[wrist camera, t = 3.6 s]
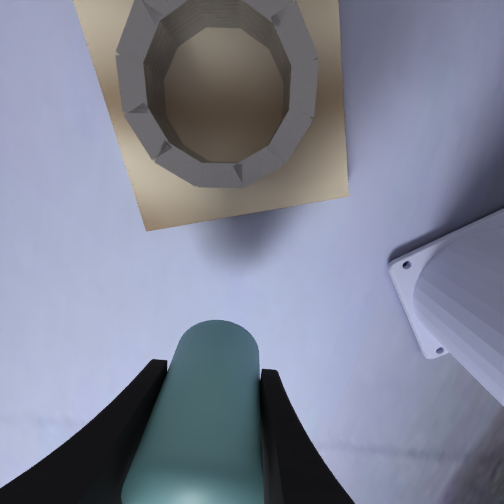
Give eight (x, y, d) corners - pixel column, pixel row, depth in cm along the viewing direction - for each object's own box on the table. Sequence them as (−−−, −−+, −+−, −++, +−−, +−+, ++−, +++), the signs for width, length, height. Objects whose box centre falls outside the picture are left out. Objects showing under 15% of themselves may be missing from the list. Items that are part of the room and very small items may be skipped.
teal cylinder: (232, 306, 12) (216, 434, 7) (273, 367, 14) (288, 520, 8) (161, 341, 13) (90, 484, 7) (205, 396, 14) (174, 557, 9)
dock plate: (80, -10, 12) (65, -24, 11) (327, -66, 11) (333, -86, 11) (152, 226, 16) (146, 231, 15) (342, 193, 15) (348, 196, 14)
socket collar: (256, -44, 11) (257, -98, 9) (330, 133, 13) (347, 129, 11) (109, 62, 12) (75, 40, 10) (199, 208, 14) (189, 218, 12)
